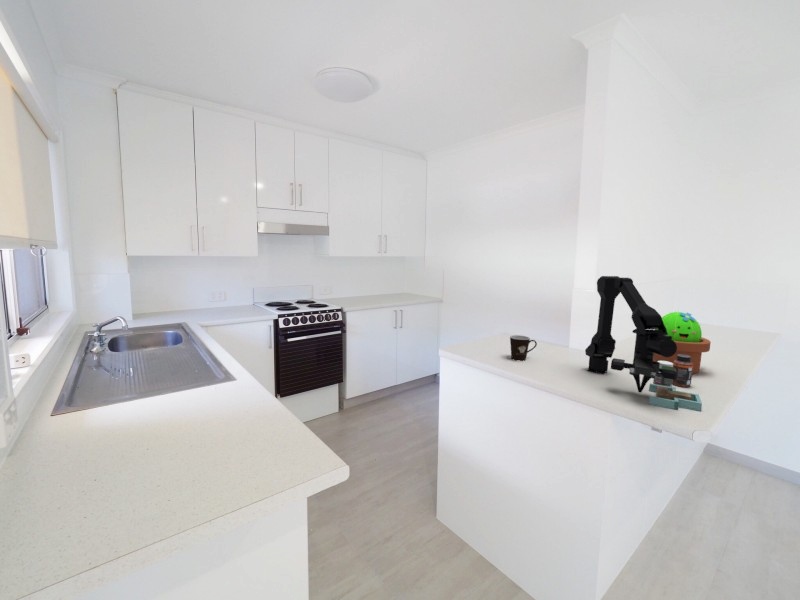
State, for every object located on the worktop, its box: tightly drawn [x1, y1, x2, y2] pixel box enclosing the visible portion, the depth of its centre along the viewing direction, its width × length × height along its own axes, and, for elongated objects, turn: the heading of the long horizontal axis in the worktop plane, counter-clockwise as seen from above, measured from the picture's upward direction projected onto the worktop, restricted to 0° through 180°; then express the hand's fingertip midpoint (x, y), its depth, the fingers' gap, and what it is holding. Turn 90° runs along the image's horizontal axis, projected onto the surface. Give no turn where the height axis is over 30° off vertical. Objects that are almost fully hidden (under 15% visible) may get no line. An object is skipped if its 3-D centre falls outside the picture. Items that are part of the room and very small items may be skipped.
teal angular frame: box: [648, 382, 703, 412], centre depth 123 cm, size 14×15×2 cm
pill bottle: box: [652, 361, 673, 387], centre depth 134 cm, size 6×6×10 cm
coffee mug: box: [509, 334, 538, 362], centre depth 169 cm, size 12×9×10 cm
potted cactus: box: [654, 311, 711, 375], centre depth 158 cm, size 22×22×25 cm
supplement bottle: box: [672, 354, 693, 388], centre depth 138 cm, size 6×6×11 cm
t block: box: [655, 386, 691, 400], centre depth 124 cm, size 9×9×3 cm
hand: (639, 392), depth 129 cm, fingers closed
